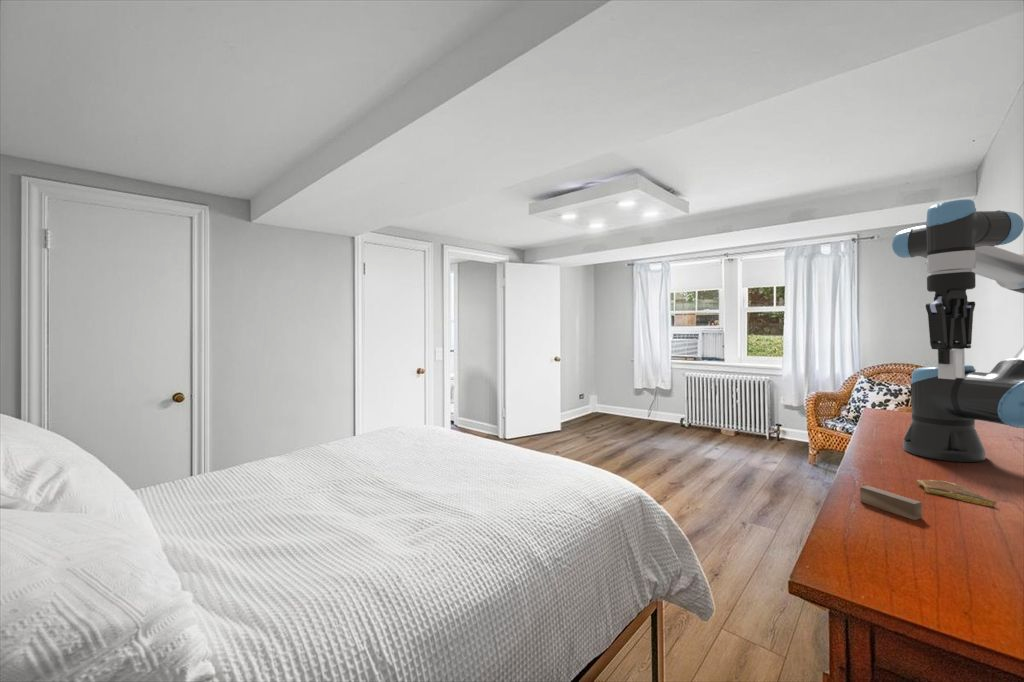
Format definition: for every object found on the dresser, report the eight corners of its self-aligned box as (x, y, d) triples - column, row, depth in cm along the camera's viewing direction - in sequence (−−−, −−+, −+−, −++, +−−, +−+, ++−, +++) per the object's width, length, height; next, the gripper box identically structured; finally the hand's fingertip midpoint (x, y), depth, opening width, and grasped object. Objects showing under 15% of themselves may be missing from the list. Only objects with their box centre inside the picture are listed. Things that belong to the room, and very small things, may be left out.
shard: (997, 510, 81) (996, 500, 81) (947, 507, 83) (947, 498, 83) (954, 488, 91) (954, 480, 91) (911, 486, 93) (911, 478, 93)
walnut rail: (867, 499, 86) (867, 485, 86) (921, 518, 78) (921, 502, 78) (860, 501, 86) (860, 487, 86) (914, 520, 77) (914, 504, 77)
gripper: (950, 274, 101) (951, 373, 101) (907, 275, 96) (908, 379, 96) (994, 270, 94) (994, 376, 94) (950, 270, 89) (951, 382, 89)
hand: (951, 377), depth 95 cm, fingers open, 3 cm apart
